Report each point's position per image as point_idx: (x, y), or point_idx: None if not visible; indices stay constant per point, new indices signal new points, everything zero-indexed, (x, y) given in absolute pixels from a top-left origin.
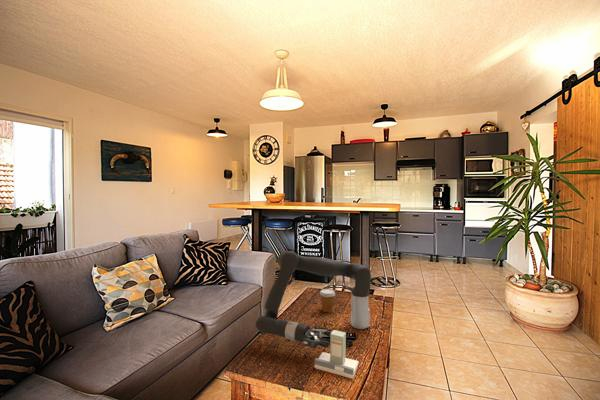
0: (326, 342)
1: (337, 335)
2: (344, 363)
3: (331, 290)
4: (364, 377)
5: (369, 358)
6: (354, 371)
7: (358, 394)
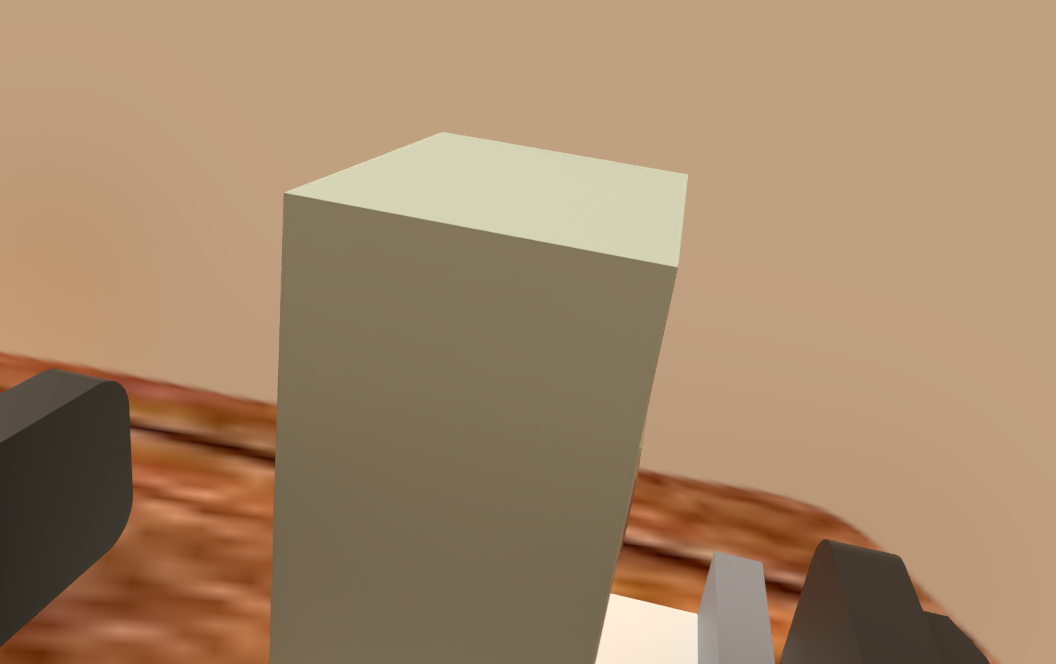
0: (907, 596)
1: (674, 203)
2: None
3: None
4: (634, 559)
5: (220, 472)
6: (640, 605)
7: (975, 640)
